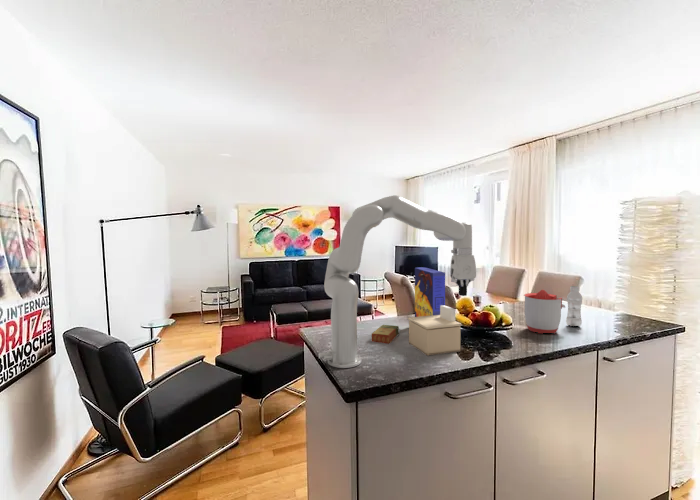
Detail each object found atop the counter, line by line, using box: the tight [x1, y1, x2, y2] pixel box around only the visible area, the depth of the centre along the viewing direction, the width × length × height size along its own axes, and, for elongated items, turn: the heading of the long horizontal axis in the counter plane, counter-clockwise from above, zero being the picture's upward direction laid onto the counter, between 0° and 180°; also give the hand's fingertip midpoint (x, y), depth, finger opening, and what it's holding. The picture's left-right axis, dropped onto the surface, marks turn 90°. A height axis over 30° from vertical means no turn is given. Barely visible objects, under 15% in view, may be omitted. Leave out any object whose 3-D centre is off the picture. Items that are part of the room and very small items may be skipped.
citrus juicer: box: [523, 289, 566, 334], centre depth 162 cm, size 16×17×20 cm
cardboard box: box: [408, 320, 461, 356], centre depth 141 cm, size 15×15×10 cm
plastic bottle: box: [565, 285, 583, 327], centre depth 168 cm, size 6×7×20 cm
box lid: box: [407, 304, 463, 329], centre depth 140 cm, size 16×16×6 cm
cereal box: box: [414, 266, 446, 317], centre depth 162 cm, size 22×6×30 cm, turn 10°
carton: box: [371, 324, 400, 345], centre depth 155 cm, size 8×16×4 cm, turn 157°
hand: (462, 295), depth 144 cm, fingers closed
